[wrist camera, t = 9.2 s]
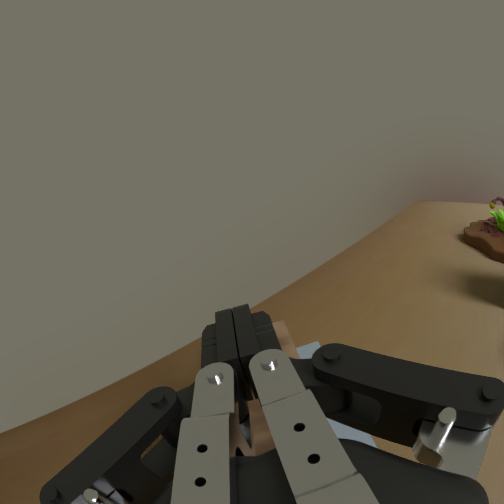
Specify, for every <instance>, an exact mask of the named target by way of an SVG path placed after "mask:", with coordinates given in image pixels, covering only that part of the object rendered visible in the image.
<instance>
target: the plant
mask: <svg viewBox="0 0 504 504" xmlns="http://www.w3.org/2000/svg"><path fill="white" fill-rule="evenodd" d="M497 200H500V201H501V202H502V203H503V205H504V199H503V198H500V197H498V198H496V199H494V200H493V201H491V202H490V207H491V209H493V208H495V205H496V201H497ZM490 212H491V213H492V215H493V216H494V217H491V218H489V219H487V220H479V221H478V222H472V223H470V227H466V228H464V241H465V242H466V243H467V244H469V245H471V246H473V247H475V248H477V249H479V250H481V251H483V252H484V253H486V254H487V255H489V256H490V257H491V258H492V259H493V260H495V261H498V262H501V263H504V212H503V211H502V210H500V209H499V208H498V212H499V214H500V215H498V214H497V213H495V212H493V211H490Z"/></svg>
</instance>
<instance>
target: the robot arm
mask: <svg viewBox="0 0 504 504" xmlns="http://www.w3.org/2000/svg"><path fill="white" fill-rule="evenodd" d="M232 310H233V311H232ZM215 319H216V323H215V324H211V325H207V326H206V328H205V329H204V331H203V333H202V355H201V370H200V371H199V372H198V374H197V376H196V379H195V382H194V383H193V384H192V385H190V386H189V387H187V388H185V389H182V390H180V391H178V392H175V391H174V390H173V389H172V388H170V387H157V388H154V389H152V390H150V391H149V392H147V393H146V394H145V395H144V396H143V397H142V398H141V399H140V400H139V401H138V402H137V403H136V404H134V405H133V406H132V407H131V408H130V409H129V410H128V411H127V412H126V413H125V414H124V415H123V416H122V417H120V418H119V419H118V420H117V421H116V422H115V423H114V424H113V425H112V426H111V427H110V428H108V429H107V430H106V431H105V432H104V433H103V434H102V435H101V436H100V437H99V438H97V439H96V440H95V441H94V442H93V443H92V444H91V445H90V446H88V447H87V448H86V449H85V450H84V451H83V452H82V453H81V454H79V455H78V456H77V457H76V458H75V459H74V460H73V461H72V462H70V463H69V464H68V465H67V466H66V467H65V468H63V469H62V470H61V471H60V472H59V473H58V474H57V475H55V476H54V477H53V478H52V479H51V480H50V481H48V482H47V483H46V484H45V485H44V486H43V487H42V489H41V492H40V503H41V504H489V501H488V497H487V494H486V492H485V490H484V488H483V487H482V486H481V485H480V483H478V482H477V481H476V478H477V475H478V473H479V470H480V467H481V464H482V461H483V458H484V455H485V452H486V449H487V445H488V442H489V438H490V435H491V431H492V429H493V427H494V426H495V424H496V423H497V421H498V419H499V416H500V414H501V413H502V411H503V409H504V383H503V382H502V381H501V380H499V379H497V378H493V377H487V376H481V375H475V374H469V373H464V372H458V371H453V370H448V369H443V368H438V367H433V366H429V365H424V364H419V363H415V362H411V361H406V360H402V359H398V358H393V357H389V356H385V355H381V354H377V353H373V352H369V351H366V350H362V349H358V348H354V347H351V346H347V345H343V344H338V343H332V344H327V345H324V346H322V347H320V348H318V349H317V350H316V351H315V352H314V353H313V355H312V358H309V359H295V358H291V357H288V355H287V354H286V353H285V352H284V351H282V349H281V346H280V343H279V341H278V338H277V335H276V332H275V330H274V327H273V324H272V322H271V319H270V316H269V315H268V314H266V313H265V312H263V311H261V312H257V313H253V314H251V312H250V309H249V305H248V304H245V305H241V306H237V307H233V308H232V309H231V308H230V309H226V310H222V311H218V312H215ZM252 392H253V394H254V397H255V399H259V402H260V405H261V407H262V409H263V412H264V415H265V417H266V420H267V423H268V426H269V429H270V432H271V435H272V437H273V440H274V443H275V446H276V448H274V449H272V450H270V451H268V452H266V453H264V454H261V455H259V456H256V454H255V444H254V432H253V420H252V414H251V412H250V410H249V407H248V401H251V400H254V399H253V394H252ZM327 418H329V419H331V420H334V421H336V422H339V423H341V424H344V425H346V426H349V427H351V428H354V429H357V430H359V431H362V432H365V433H368V434H371V435H373V436H376V437H379V438H382V439H385V440H388V441H391V442H395V443H398V444H401V445H404V446H408V447H411V448H413V454H414V456H415V458H416V459H417V460H418V461H419V462H420V463H423V464H420V463H417V462H414V461H411V460H408V459H405V458H402V457H399V456H397V455H394V454H391V453H388V452H386V451H383V450H380V449H378V448H375V447H373V446H370V445H368V444H365V443H363V442H360V441H356V440H351V439H343V438H337V436H336V434H335V432H334V431H333V429H332V427H331V425H330V424H329V422H328V420H327ZM160 434H161V435H162V436H163V438H162V439H161V440H160V441H159V442H158V443H157V444H156V445H155V446H154V447H153V448H152V449H151V450H150V451H149V452H148V453H147V454H146V455H145V456H144V457H143V458H142V459H141V460H140V457H141V454H142V453H143V452H144V451H145V450H146V449H147V448H148V447H149V446H150V445H151V443H152V442H153V441H154V440H155V439H156V438H157V437H158V436H159V435H160ZM424 464H425V465H424Z"/></svg>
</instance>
